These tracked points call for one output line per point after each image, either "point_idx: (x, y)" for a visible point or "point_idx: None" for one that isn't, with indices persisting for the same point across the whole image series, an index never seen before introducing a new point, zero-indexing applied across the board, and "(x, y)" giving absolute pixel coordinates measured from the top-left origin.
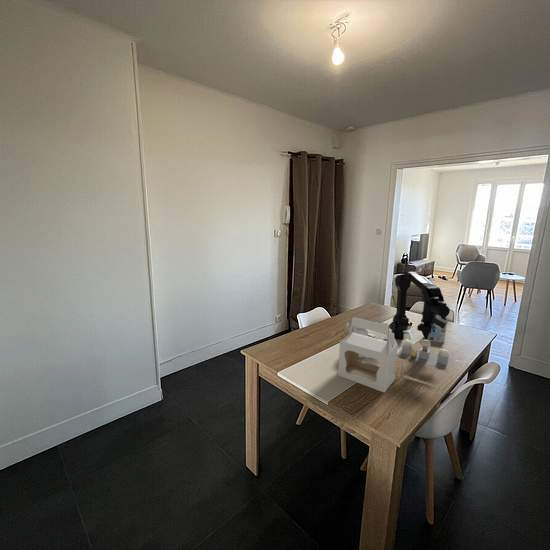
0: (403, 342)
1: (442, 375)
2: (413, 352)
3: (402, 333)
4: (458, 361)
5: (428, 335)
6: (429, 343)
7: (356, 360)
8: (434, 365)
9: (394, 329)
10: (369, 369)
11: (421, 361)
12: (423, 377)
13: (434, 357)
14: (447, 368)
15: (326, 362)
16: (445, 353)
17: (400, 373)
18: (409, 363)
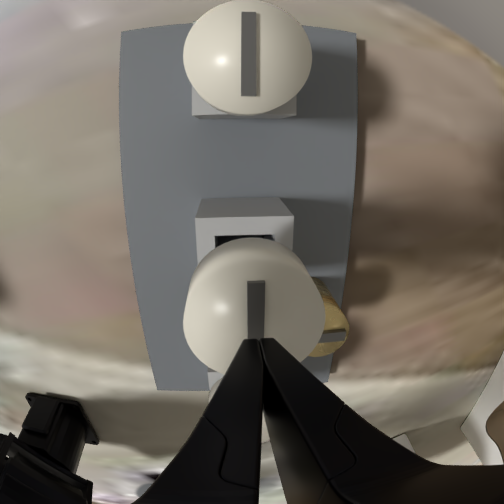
0: (266, 437)
1: (423, 77)
2: (346, 328)
3: (45, 435)
4: (97, 6)
5: (308, 391)
6: (294, 266)
7: (482, 429)
8: (347, 132)
9: (88, 489)
10: (496, 380)
11: (334, 234)
12: (491, 183)
13: (175, 158)
14: (336, 38)
15: (456, 456)
16: (305, 32)
17: (489, 289)
18: (373, 293)
